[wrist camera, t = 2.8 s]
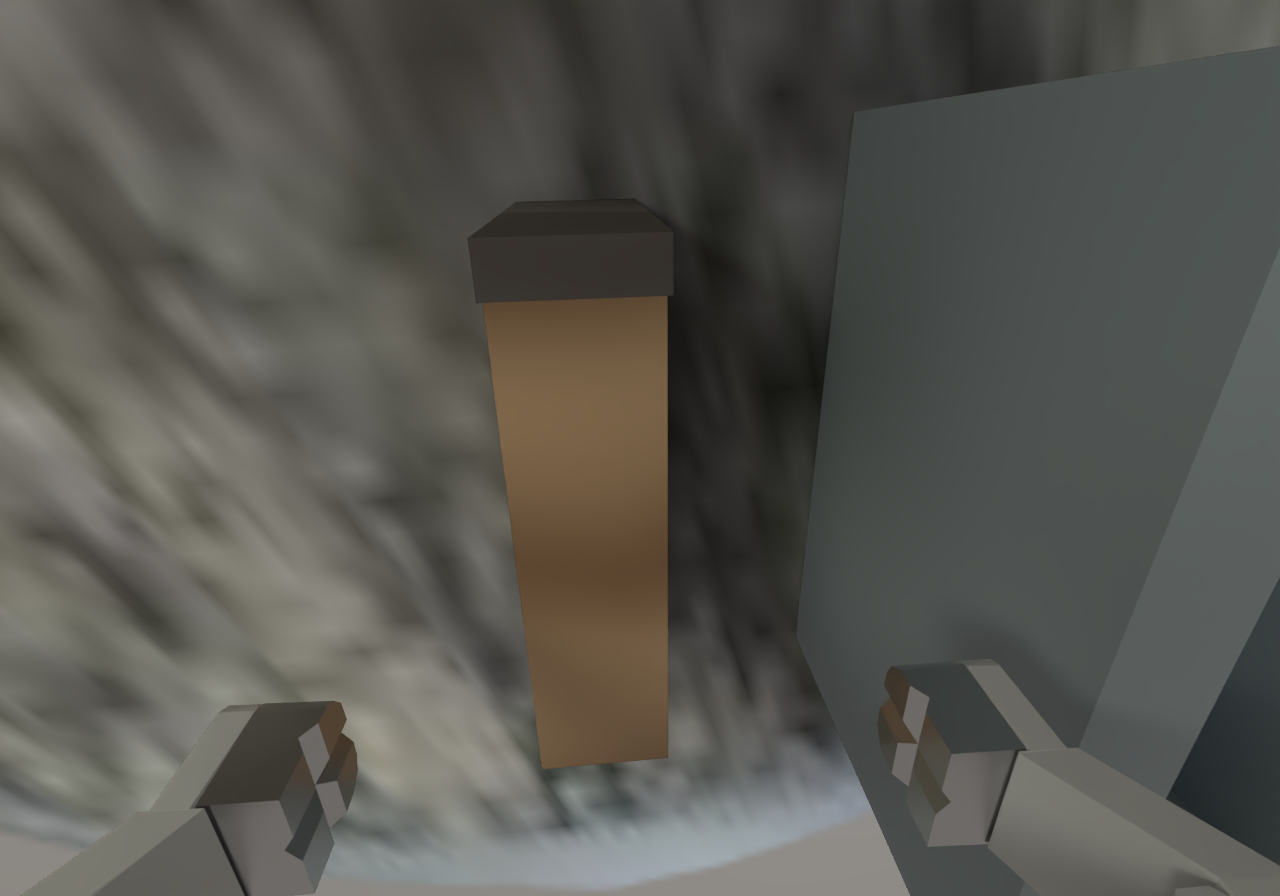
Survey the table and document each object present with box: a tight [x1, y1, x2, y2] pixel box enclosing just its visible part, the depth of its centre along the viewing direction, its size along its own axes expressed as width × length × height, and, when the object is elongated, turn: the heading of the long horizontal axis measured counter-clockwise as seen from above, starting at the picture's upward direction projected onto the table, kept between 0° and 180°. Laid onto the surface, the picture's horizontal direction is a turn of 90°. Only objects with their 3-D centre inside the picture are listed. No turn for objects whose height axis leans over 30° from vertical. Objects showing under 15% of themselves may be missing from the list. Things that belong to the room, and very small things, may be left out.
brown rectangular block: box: [468, 199, 674, 769], centre depth 16 cm, size 12×3×8 cm, turn 1°
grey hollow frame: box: [796, 46, 1280, 896], centre depth 15 cm, size 9×18×12 cm, turn 1°
